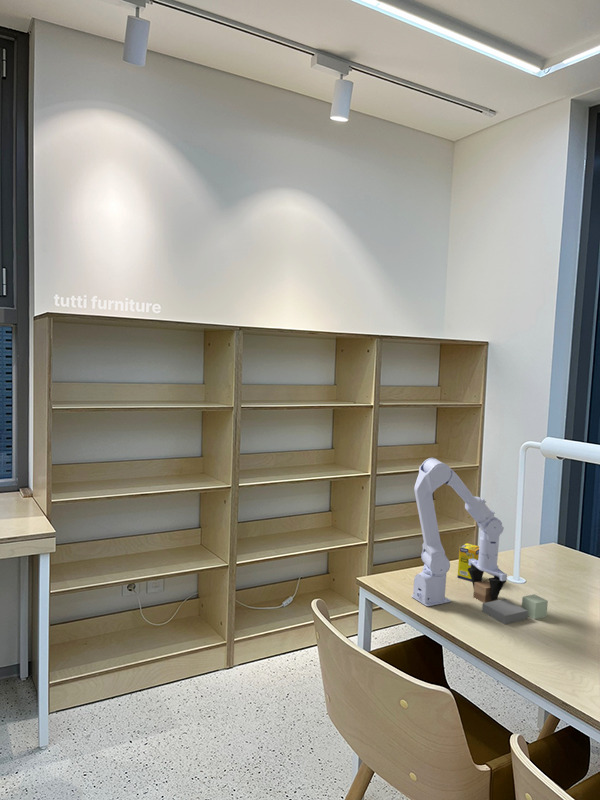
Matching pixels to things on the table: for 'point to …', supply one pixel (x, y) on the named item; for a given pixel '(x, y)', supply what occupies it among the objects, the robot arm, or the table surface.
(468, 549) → the supplement box
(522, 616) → the charcoal base block
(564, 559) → the table surface
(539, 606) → the sage green cube
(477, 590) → the walnut cube
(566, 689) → the table surface
